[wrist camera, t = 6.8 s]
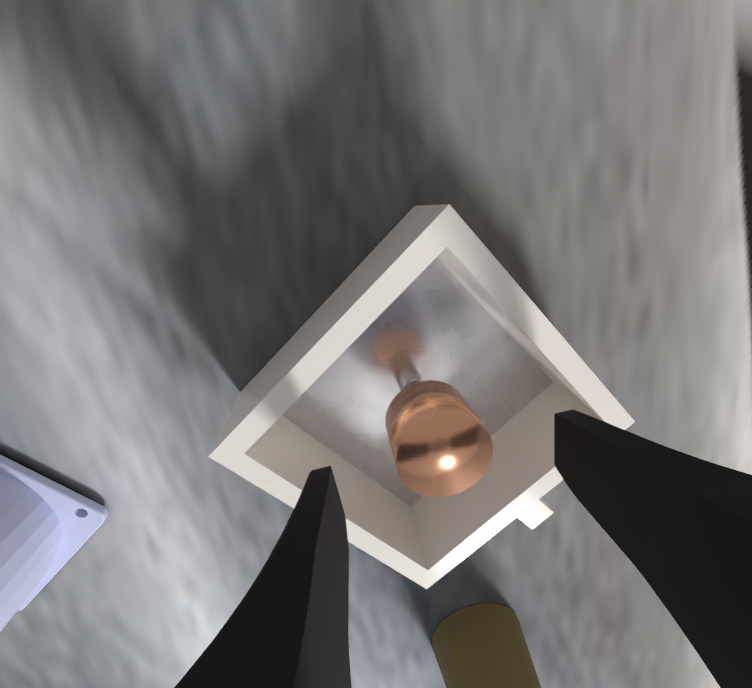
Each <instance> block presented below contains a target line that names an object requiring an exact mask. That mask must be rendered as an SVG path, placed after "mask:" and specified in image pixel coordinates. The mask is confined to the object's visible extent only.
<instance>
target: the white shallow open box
mask: <svg viewBox="0 0 752 688" xmlns="http://www.w3.org/2000/svg"><path fill="white" fill-rule="evenodd" d="M436 257H438V259H439V260H440V261H441V262H442V263H443V264H444V265H445V266H446V267H447V268H448V269H449V270H450V272H451V273H452V274H453V275H454V276H455V277H456V278H457V279H458V280H459V281H460V282H461V283H462V284H463V286H464V287H465V288H466V289H467V290H468V291H469V292H470V293H471V294H472V295H473V296H474V297H475V299H476V300H477V301H478V302H479V303H480V304H481V305H482V306H483V307H484V308H485V309H486V310H487V311H488V313H489V314H490V315H491V316H492V317H493V318H494V319H495V320H496V321H497V322H498V323H499V324H500V326H501V327H502V328H503V329H504V330H505V331H506V332H507V333H508V334H509V335H510V336H511V337H512V338H513V340H514V341H515V342H516V343H517V344H518V345H519V346H520V347H521V348H522V349H523V350H524V351H525V352H526V354H527V355H528V356H529V357H530V358H531V359H532V360H533V361H534V362H535V363H536V364H537V365H538V367H539V368H540V369H541V370H542V371H543V372H544V373H545V374H546V375H547V376H548V377H549V378H550V379H551V381H552V382H553V383H552V384H551V385H549V386H548V387H547V388H546V389H545V390H544V391H543V392H541V393H540V394H539V395H538V396H537V397H536V398H535V399H533V400H532V401H531V402H530V403H529V404H528V405H526V406H525V407H524V408H523V409H522V410H521V411H520V412H518V413H517V414H516V415H515V416H514V417H513V418H512V419H510V420H509V421H508V422H507V423H506V424H505V425H504V426H502V427H501V428H500V429H499V430H498V431H497V432H495V433H494V434H493V435H492V436H491V440H492V444H493V455H492V460H491V463H490V465H489V467H488V469H487V471H486V472H485V474H484V475H483V476H482V477H481V479H480V480H479V481H478V482H476V483H475V484H474V485H473V486H471V487H470V488H468V489H467V490H465V491H463V492H461V493H458V494H455V495H452V496H447V497H438V498H436V497H427V496H422V497H421V498H420V499H418V500H417V501H416V502H415V503H414V504H413V505H412V506H409V505H408V504H407V503H405V502H404V501H402V500H401V499H399V498H398V497H397V496H395V495H394V494H392V493H391V492H390V491H388V490H387V489H385V488H384V487H382V486H381V485H380V484H378V483H377V482H375V481H374V480H373V479H371V478H370V477H368V476H367V475H365V474H364V473H363V472H361V471H360V470H358V469H357V468H356V467H354V466H353V465H351V464H350V463H348V462H347V461H346V460H344V459H343V458H341V457H340V456H339V455H337V454H336V453H334V452H333V451H331V450H330V449H329V448H327V447H326V446H324V445H323V444H322V443H320V442H319V441H317V440H316V439H315V438H313V437H312V436H310V435H309V434H307V433H306V432H305V431H303V430H302V429H300V428H299V427H298V426H296V425H295V424H293V423H292V422H290V421H289V420H288V419H286V418H285V417H283V416H282V414H283V413H284V412H285V411H286V410H287V409H288V408H289V407H290V406H291V405H292V404H293V403H294V402H295V401H296V400H297V399H298V398H299V397H300V396H301V395H302V394H303V393H304V392H305V391H306V390H307V389H308V388H309V387H310V386H311V385H312V384H313V383H314V382H315V381H316V380H317V379H318V378H319V377H320V376H321V375H322V374H323V373H324V372H325V371H326V370H327V368H328V367H329V366H330V365H331V364H332V363H333V362H334V361H335V360H336V359H337V358H338V357H339V356H340V355H341V354H342V353H343V352H344V351H345V350H346V349H347V348H348V347H349V346H350V345H351V344H352V343H353V342H354V341H355V340H356V339H357V338H358V337H359V336H360V335H361V334H362V333H363V332H364V331H365V330H366V329H367V328H368V327H369V326H370V325H371V324H372V323H373V322H374V321H375V320H376V319H377V317H378V316H379V315H380V314H381V313H382V312H383V311H384V310H385V309H386V308H387V307H388V306H389V305H390V304H391V303H392V302H393V301H394V300H395V299H396V298H397V297H398V296H399V295H400V294H401V293H402V292H403V291H404V290H405V289H406V288H407V287H408V286H409V285H410V284H411V283H412V282H413V281H414V280H415V279H416V278H417V277H418V276H419V275H420V274H421V273H422V272H423V271H424V270H425V269H426V267H427V266H428V265H429V264H430V263H431V262H432V261H433V260H434V259H435V258H436ZM572 409H573V410H576V411H579V412H581V413H584V414H587V415H589V416H592V417H594V418H597V419H599V420H601V421H604V422H606V423H609V424H611V425H613V426H616V427H618V428H621V429H623V430H625V429H627V428H628V427H629V426H630V425H632V424H633V423H634V422H635V421H634V420H633V419H632V418H631V417H630V415H629V414H628V413H627V412H626V411H625V410H624V408H623V407H622V406H621V405H620V404H619V402H618V401H617V400H616V399H615V398H614V397H613V395H612V394H611V393H610V392H609V391H608V390H607V388H606V387H605V386H604V385H603V384H602V383H601V381H600V380H599V379H598V378H597V377H596V375H595V374H594V373H593V372H592V371H591V370H590V368H589V367H588V366H587V365H586V364H585V363H584V361H583V360H582V359H581V358H580V357H579V356H578V354H577V353H576V352H575V351H574V350H573V348H572V347H571V346H570V345H569V344H568V343H567V341H566V340H565V339H564V338H563V337H562V336H561V334H560V333H559V332H558V331H557V330H556V329H555V327H554V326H553V325H552V324H551V323H550V321H549V320H548V319H547V318H546V317H545V316H544V314H543V313H542V312H541V311H540V310H539V309H538V307H537V306H536V305H535V304H534V303H533V302H532V300H531V299H530V298H529V297H528V296H527V294H526V293H525V292H524V291H523V290H522V289H521V287H520V286H519V285H518V284H517V283H516V282H515V280H514V279H513V278H512V277H511V276H510V275H509V273H508V272H507V271H506V270H505V269H504V268H503V266H502V265H501V264H500V263H499V262H498V260H497V259H496V258H495V257H494V256H493V255H492V253H491V252H490V251H489V250H488V249H487V248H486V246H485V245H484V244H483V243H482V242H481V241H480V239H479V238H478V237H477V236H476V235H475V233H474V232H473V231H472V230H471V229H470V228H469V226H468V225H467V224H466V223H465V222H464V221H463V219H462V218H461V217H460V216H459V215H458V214H457V212H456V211H455V210H454V209H453V208H452V206H451V205H450V204H442V205H419V206H414V207H413V208H412V209H411V210H410V211H409V212H408V213H407V214H406V215H405V216H404V217H403V219H402V220H401V221H400V222H399V223H398V224H397V225H396V226H395V227H394V228H393V229H392V230H391V231H390V232H389V233H388V235H387V236H386V237H385V238H384V239H383V240H382V241H381V242H380V243H379V244H378V245H377V246H376V247H375V248H374V250H373V251H372V252H371V253H370V254H369V255H368V256H367V257H366V258H365V259H364V260H363V261H362V262H361V263H360V265H359V266H358V267H357V268H356V269H355V270H354V271H353V272H352V273H351V274H350V275H349V276H348V277H347V278H346V279H345V281H344V282H343V283H342V284H341V285H340V286H339V287H338V288H337V289H336V290H335V291H334V292H333V293H332V294H331V296H330V297H329V298H328V299H327V300H326V301H325V302H324V303H323V304H322V305H321V306H320V307H319V308H318V309H317V311H316V312H315V313H314V314H313V315H312V316H311V317H310V318H309V319H308V320H307V321H306V322H305V323H304V324H303V326H302V327H301V328H300V329H299V330H298V331H297V332H296V333H295V334H294V335H293V336H292V337H291V338H290V339H289V340H288V342H287V343H286V344H285V345H284V346H283V347H282V348H281V349H280V350H279V351H278V352H277V353H276V354H275V355H274V357H273V358H272V359H271V360H270V361H269V362H268V363H267V364H266V365H265V366H264V367H263V368H262V369H261V370H260V372H259V373H258V374H257V375H256V376H255V377H254V378H253V379H252V380H251V381H250V382H249V383H248V384H247V385H246V386H245V388H244V389H243V390H242V391H241V392H240V393H239V395H238V397H237V399H236V401H235V403H234V405H233V407H232V409H231V411H230V414H229V416H228V418H227V420H226V422H225V424H224V426H223V428H222V430H221V432H220V434H219V436H218V438H217V440H216V442H215V444H214V446H213V448H212V450H211V452H210V454H209V456H208V457H210V458H212V459H213V460H215V461H217V462H218V463H220V464H222V465H223V466H225V467H227V468H228V469H230V470H231V471H233V472H235V473H236V474H238V475H240V476H241V477H243V478H245V479H246V480H248V481H250V482H251V483H253V484H254V485H256V486H258V487H259V488H261V489H263V490H264V491H266V492H268V493H269V494H271V495H273V496H274V497H276V498H277V499H279V500H281V501H282V502H284V503H286V504H287V505H289V506H291V507H292V508H295V506H296V504H297V501H298V499H299V497H300V495H301V492H302V490H303V487H304V485H305V483H306V480H307V477H308V475H309V473H310V472H311V470H315V469H319V468H323V467H328V466H331V468H332V471H333V475H334V478H335V481H336V485H337V488H338V492H339V495H340V499H341V502H342V506H343V509H344V513H345V518H346V527H347V537H348V542H350V543H351V544H353V545H355V546H356V547H358V548H360V549H361V550H363V551H365V552H366V553H368V554H370V555H371V556H373V557H374V558H376V559H378V560H379V561H381V562H383V563H384V564H386V565H388V566H389V567H391V568H393V569H394V570H396V571H397V572H399V573H401V574H402V575H404V576H406V577H407V578H409V579H411V580H412V581H414V582H416V583H417V584H419V585H420V586H422V587H424V588H425V589H428V588H429V587H430V586H432V585H433V584H434V583H435V582H437V581H438V580H439V579H440V578H442V577H443V576H444V575H445V574H447V573H448V572H449V571H450V570H452V569H453V568H454V567H455V566H457V565H458V564H459V563H460V562H462V561H463V560H464V559H465V558H466V557H468V556H469V555H470V554H471V553H473V552H474V551H475V550H476V549H478V548H479V547H480V546H481V545H483V544H484V543H485V542H486V541H488V540H489V539H490V538H491V537H493V536H494V535H495V534H496V533H498V532H499V531H500V530H501V529H502V528H504V527H505V526H506V525H507V524H509V523H510V522H511V521H512V520H514V519H515V518H516V517H517V518H519V519H520V520H521V521H522V522H524V523H525V524H526V525H527V526H529V527H530V528H531V529H534V528H535V527H536V526H538V525H539V524H540V523H541V522H543V521H544V520H545V519H546V518H548V517H549V516H550V515H551V514H553V513H554V512H553V511H552V509H551V508H550V507H549V505H548V504H547V503H546V501H545V500H544V499H543V497H542V496H543V495H545V494H546V493H547V492H548V491H550V490H551V489H552V488H553V487H555V486H556V485H557V484H558V483H560V482H561V481H562V480H563V478H562V476H561V475H560V473H559V471H558V470H557V468H556V467H555V465H554V414H555V413H559V412H564V411H568V410H572Z"/></svg>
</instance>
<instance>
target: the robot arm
mask: <svg viewBox="0 0 752 688" xmlns="http://www.w3.org/2000/svg"><path fill="white" fill-rule="evenodd" d="M554 465H555V467H556V468H557V470H558V471H559V473H560V475H561V476H562V478H563V479H564V481H565V482H566V484H567V485H568V487H569V488H570V489H571V491H572V492H573V494H574V495H575V496H576V497H577V499H578V500H579V501H580V502H581V503H582V505H583V506H584V507H585V508H586V509H587V510H588V512H589V513H590V514H591V515H592V516H593V517H594V519H595V520H596V521H597V522H598V523H599V524H600V526H601V527H602V528H603V529H604V530H605V531H606V532H607V534H608V535H609V536H610V537H611V538H612V539H613V541H614V542H615V543H616V544H617V545H618V546H619V547H620V549H621V550H622V551H623V552H624V553H625V554H626V556H627V557H628V558H629V559H630V560H631V561H632V563H633V564H634V565H635V566H636V568H637V569H638V570H639V571H640V573H641V574H642V575H643V576H644V578H645V579H646V581H647V582H648V583H649V585H650V586H651V587H652V589H653V590H654V592H655V593H656V594H657V596H658V597H659V598H660V600H661V601H662V603H663V604H664V605H665V607H666V608H667V609H668V611H669V612H670V614H671V615H672V616H673V618H674V619H675V621H676V622H677V624H678V625H679V627H680V628H681V629H682V631H683V632H684V634H685V635H686V637H687V638H688V640H689V641H690V642H691V644H692V645H693V647H694V648H695V650H696V651H697V653H698V654H699V655H700V657H701V659H702V660H703V662H704V663H705V665H706V666H707V668H708V669H709V671H710V672H711V674H712V675H713V677H714V678H715V680H716V681H717V683H718V684H719V686H720V687H721V688H752V475H750V474H746V473H743V472H740V471H736V470H733V469H730V468H727V467H723V466H720V465H717V464H714V463H710V462H707V461H704V460H701V459H699V458H696V457H693V456H690V455H687V454H685V453H682V452H679V451H676V450H673V449H671V448H668V447H665V446H663V445H660V444H658V443H655V442H652V441H650V440H647V439H645V438H642V437H640V436H638V435H635V434H633V433H630V432H628V431H625V430H623V429H621V428H618V427H616V426H613V425H611V424H609V423H606V422H604V421H601V420H599V419H597V418H594V417H592V416H589V415H587V414H584V413H581V412H579V411H576V410H573V409H572V410H568V411H564V412H559V413H555V414H554ZM83 509H84V510H83ZM85 510H86V511H85ZM107 516H108V511H107V509H106V508H105V507H104V506H102V505H100V504H98V503H96V502H94V501H92V500H90V499H88V498H86V497H84V496H82V495H80V494H78V493H76V492H74V491H72V490H70V489H68V488H66V487H64V486H62V485H60V484H58V483H56V482H54V481H52V480H50V479H48V478H46V477H44V476H42V475H40V474H38V473H36V472H34V471H32V470H30V469H28V468H26V467H24V466H22V465H20V464H18V463H16V462H14V461H12V460H10V459H8V458H6V457H4V456H2V455H0V632H1V631H2V629H3V628H4V627H5V625H6V624H7V623H8V622H9V620H10V619H11V618H12V616H13V615H14V614H15V613H16V612H17V611H21V610H22V609H24V608H25V607H26V606H27V604H28V603H29V602H30V601H31V600H32V599H33V598H34V597H35V596H36V595H37V594H38V593H39V591H40V590H41V589H42V588H43V587H44V586H45V585H46V584H47V583H48V582H49V581H50V580H51V578H52V577H53V576H54V575H55V574H56V573H57V572H58V571H59V570H60V569H61V568H62V567H63V565H64V564H65V563H66V562H67V561H68V560H69V559H70V558H71V557H72V556H73V555H74V554H75V552H76V551H77V550H78V549H79V548H80V547H81V546H82V545H83V544H84V543H85V542H86V541H87V539H88V538H89V537H90V536H91V535H92V534H93V533H94V532H95V531H96V530H97V529H98V528H99V526H100V525H101V524H102V523H103V522H104V521H105V519H106V518H107ZM348 582H349V548H348V537H347V527H346V518H345V513H344V509H343V506H342V502H341V499H340V495H339V492H338V488H337V485H336V481H335V478H334V475H333V471H332V468H331V466H328V467H323V468H319V469H315V470H311V472H310V473H309V475H308V477H307V480H306V483H305V485H304V487H303V490H302V492H301V495H300V497H299V499H298V501H297V504H296V506H295V508H294V510H293V512H292V514H291V516H290V518H289V520H288V522H287V525H286V527H285V529H284V531H283V533H282V534H281V536H280V538H279V540H278V542H277V544H276V545H275V547H274V549H273V551H272V553H271V555H270V556H269V558H268V560H267V562H266V563H265V565H264V567H263V568H262V570H261V572H260V573H259V575H258V577H257V578H256V580H255V581H254V583H253V584H252V586H251V587H250V589H249V591H248V592H247V594H246V595H245V597H244V598H243V600H242V601H241V602H240V604H239V605H238V607H237V608H236V610H235V611H234V612H233V614H232V615H231V617H230V618H229V619H228V621H227V622H226V624H225V625H224V626H223V628H222V629H221V630H220V632H219V633H218V634H217V636H216V637H215V638H214V640H213V641H212V642H211V644H210V645H209V646H208V647H207V649H206V650H205V651H204V652H203V654H202V655H201V656H200V657H199V658H198V660H197V661H196V662H195V663H194V665H193V666H192V667H191V668H190V670H189V671H188V672H187V673H186V674H185V676H184V677H183V678H182V679H181V681H180V682H179V683H178V684H177V685H176V686H175V688H351V676H350V663H349V644H348Z"/></svg>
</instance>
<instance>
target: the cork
mask: <svg viewBox="0 0 752 688" xmlns="http://www.w3.org/2000/svg"><path fill="white" fill-rule="evenodd" d="M432 648H433V651H434V654H435V656H436V659H437V662H438V665H439V668H440V670H441V673H442V676H443V679H444V682H445V685H446V687H447V688H541V686H540V683H539V680H538V677H537V674H536V671H535V668H534V665H533V662H532V659H531V656H530V653H529V650H528V647H527V644H526V641H525V638H524V635H523V632H522V629H521V626H520V623H519V620H518V618H517V616H516V614H515V612H514V611H512V610H511V609H510V608H508V607H507V606H504V605H500V604H497V603H479V604H475V605H470V606H467V607H464V608H462V609H460V610H457V611H455V612H453V613H452V614H451V615H449V616H448V617H446V618H445V619H444V620H442V622H441V623H440V624H439V625H438V627H437V628H436V629H435V631H434V634H433V637H432Z"/></svg>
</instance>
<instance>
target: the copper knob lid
mask: <svg viewBox="0 0 752 688" xmlns="http://www.w3.org/2000/svg"><path fill="white" fill-rule="evenodd" d="M552 383H553V382H552V381H551V379H550V378H549V377H548V376H547V375H546V374H545V373H544V372H543V371H542V370H541V369H540V368H539V367H538V365H537V364H536V363H535V362H534V361H533V360H532V359H531V358H530V357H529V356H528V355H527V354H526V352H525V351H524V350H523V349H522V348H521V347H520V346H519V345H518V344H517V343H516V342H515V341H514V340H513V338H512V337H511V336H510V335H509V334H508V333H507V332H506V331H505V330H504V329H503V328H502V327H501V326H500V324H499V323H498V322H497V321H496V320H495V319H494V318H493V317H492V316H491V315H490V314H489V313H488V311H487V310H486V309H485V308H484V307H483V306H482V305H481V304H480V303H479V302H478V301H477V300H476V299H475V297H474V296H473V295H472V294H471V293H470V292H469V291H468V290H467V289H466V288H465V287H464V286H463V284H462V283H461V282H460V281H459V280H458V279H457V278H456V277H455V276H454V275H453V274H452V273H451V272H450V270H449V269H448V268H447V267H446V266H445V265H444V264H443V263H442V262H441V261H440V260H439V259H438V257H436V258H435V259H434V260H433V261H432V262H431V263H430V264H429V265H428V266H427V267H426V269H425V270H424V271H423V272H422V273H421V274H420V275H419V276H418V277H417V278H416V279H415V280H414V281H413V282H412V283H411V284H410V285H409V286H408V287H407V288H406V289H405V290H404V291H403V292H402V293H401V294H400V295H399V296H398V297H397V298H396V299H395V300H394V301H393V302H392V303H391V304H390V305H389V306H388V307H387V308H386V309H385V310H384V311H383V312H382V313H381V314H380V315H379V316H378V317H377V319H376V320H375V321H374V322H373V323H372V324H371V325H370V326H369V327H368V328H367V329H366V330H365V331H364V332H363V333H362V334H361V335H360V336H359V337H358V338H357V339H356V340H355V341H354V342H353V343H352V344H351V345H350V346H349V347H348V348H347V349H346V350H345V351H344V352H343V353H342V354H341V355H340V356H339V357H338V358H337V359H336V360H335V361H334V362H333V363H332V364H331V365H330V366H329V367H328V368H327V370H326V371H325V372H324V373H323V374H322V375H321V376H320V377H319V378H318V379H317V380H316V381H315V382H314V383H313V384H312V385H311V386H310V387H309V388H308V389H307V390H306V391H305V392H304V393H303V394H302V395H301V396H300V397H299V398H298V399H297V400H296V401H295V402H294V403H293V404H292V405H291V406H290V407H289V408H288V409H287V410H286V411H285V412H284V413H283V414H282V416H283V417H285V418H286V419H288V420H289V421H290V422H292V423H293V424H295V425H296V426H298V427H299V428H300V429H302V430H303V431H305V432H306V433H307V434H309V435H310V436H312V437H313V438H315V439H316V440H317V441H319V442H320V443H322V444H323V445H324V446H326V447H327V448H329V449H330V450H331V451H333V452H334V453H336V454H337V455H339V456H340V457H341V458H343V459H344V460H346V461H347V462H348V463H350V464H351V465H353V466H354V467H356V468H357V469H358V470H360V471H361V472H363V473H364V474H365V475H367V476H368V477H370V478H371V479H373V480H374V481H375V482H377V483H378V484H380V485H381V486H382V487H384V488H385V489H387V490H388V491H390V492H391V493H392V494H394V495H395V496H397V497H398V498H399V499H401V500H402V501H404V502H405V503H407V504H408V505H409V506H412V505H413V504H414V503H415V502H416V501H417V500H418V499H420V498H421V497H422V496H427V497H436V498H438V497H447V496H452V495H455V494H458V493H461V492H463V491H465V490H467V489H468V488H470V487H471V486H473V485H474V484H475V483H476V482H478V481H479V480H480V479H481V477H482V476H483V475H484V474H485V472H486V471H487V469H488V467H489V465H490V463H491V460H492V455H493V444H492V440H491V436H492V435H493V434H494V433H495V432H497V431H498V430H499V429H500V428H501V427H502V426H504V425H505V424H506V423H507V422H508V421H509V420H510V419H512V418H513V417H514V416H515V415H516V414H517V413H518V412H520V411H521V410H522V409H523V408H524V407H525V406H526V405H528V404H529V403H530V402H531V401H532V400H533V399H535V398H536V397H537V396H538V395H539V394H540V393H541V392H543V391H544V390H545V389H546V388H547V387H548V386H549V385H551V384H552Z"/></svg>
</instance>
